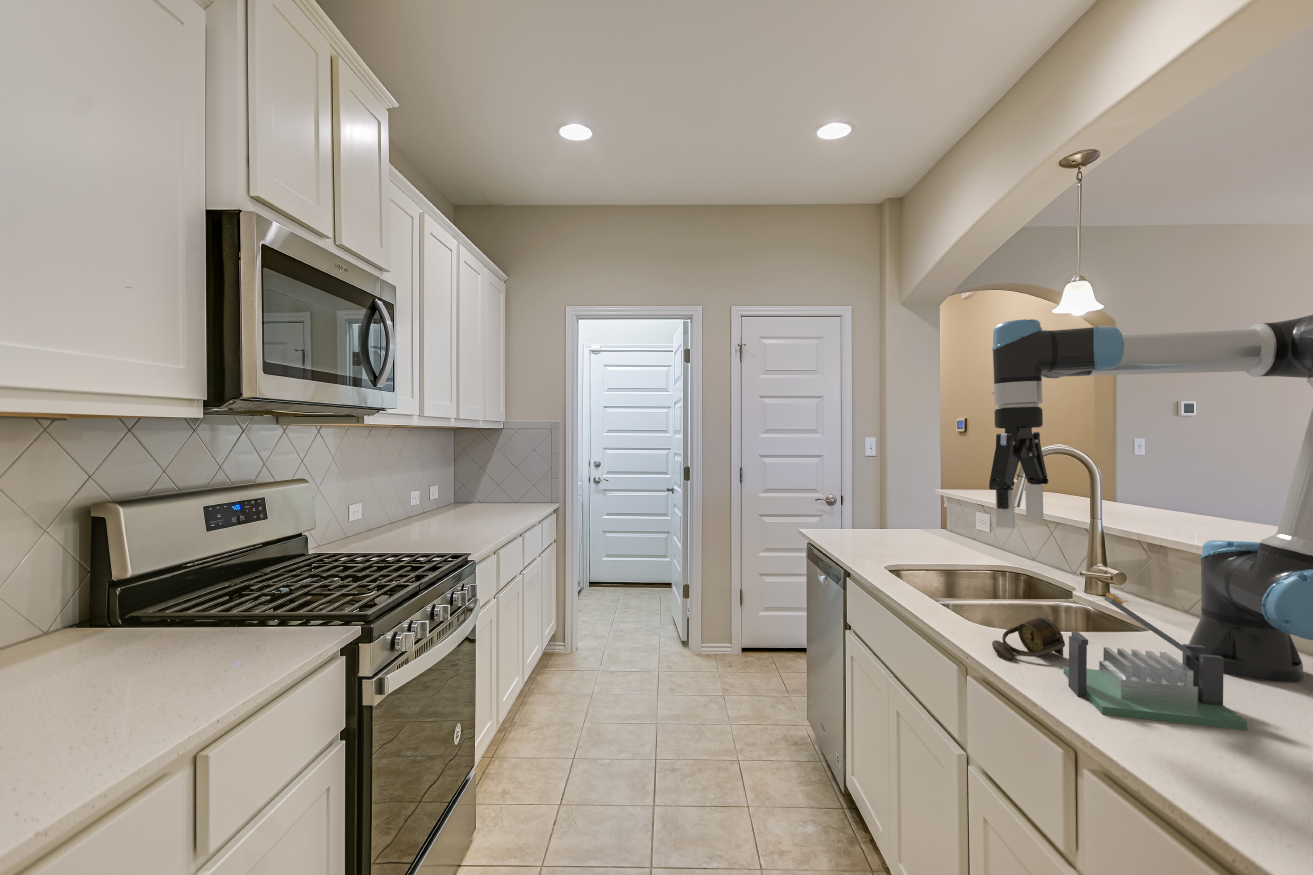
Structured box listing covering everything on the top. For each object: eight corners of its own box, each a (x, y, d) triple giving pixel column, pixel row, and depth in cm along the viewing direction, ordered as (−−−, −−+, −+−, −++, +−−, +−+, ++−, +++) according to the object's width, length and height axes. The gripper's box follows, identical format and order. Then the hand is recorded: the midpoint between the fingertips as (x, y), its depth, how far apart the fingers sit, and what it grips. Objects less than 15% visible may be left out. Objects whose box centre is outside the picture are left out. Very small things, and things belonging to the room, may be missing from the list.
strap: (1194, 660, 97) (1200, 654, 96) (1204, 666, 94) (1210, 660, 94) (1101, 598, 100) (1107, 592, 100) (1108, 602, 98) (1114, 596, 97)
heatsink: (1169, 684, 100) (1169, 652, 100) (1197, 706, 92) (1198, 671, 92) (1099, 677, 103) (1099, 646, 103) (1120, 698, 95) (1121, 664, 95)
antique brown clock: (1080, 639, 110) (1056, 611, 120) (1004, 628, 112) (987, 601, 122) (1071, 673, 112) (1048, 643, 121) (997, 662, 114) (980, 633, 124)
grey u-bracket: (1201, 690, 98) (1202, 645, 98) (1223, 705, 92) (1223, 657, 92) (1182, 688, 98) (1182, 643, 98) (1202, 703, 93) (1203, 656, 93)
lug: (1078, 687, 102) (1078, 631, 102) (1087, 697, 98) (1088, 639, 98) (1068, 686, 102) (1069, 631, 102) (1077, 696, 98) (1078, 639, 98)
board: (1184, 685, 103) (1184, 678, 103) (1247, 730, 87) (1247, 722, 87) (1063, 673, 108) (1063, 666, 108) (1102, 713, 92) (1102, 706, 92)
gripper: (1021, 407, 121) (1024, 513, 121) (966, 407, 105) (969, 528, 105) (1065, 405, 115) (1067, 517, 115) (1013, 404, 99) (1016, 533, 99)
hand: (1020, 522), depth 110 cm, fingers open, 13 cm apart
